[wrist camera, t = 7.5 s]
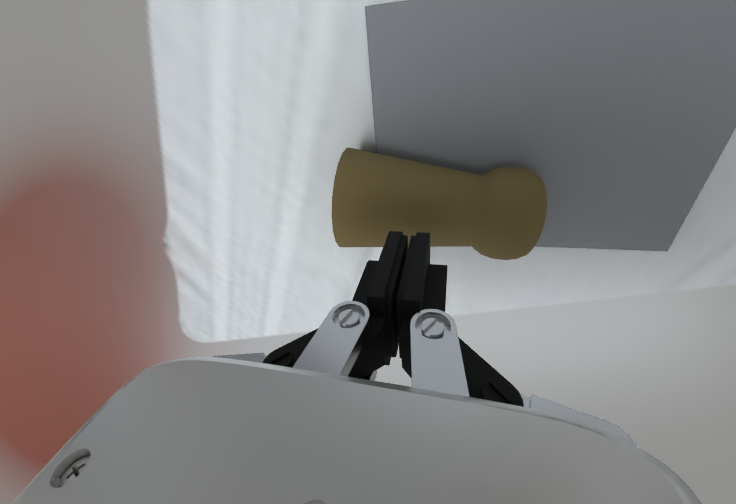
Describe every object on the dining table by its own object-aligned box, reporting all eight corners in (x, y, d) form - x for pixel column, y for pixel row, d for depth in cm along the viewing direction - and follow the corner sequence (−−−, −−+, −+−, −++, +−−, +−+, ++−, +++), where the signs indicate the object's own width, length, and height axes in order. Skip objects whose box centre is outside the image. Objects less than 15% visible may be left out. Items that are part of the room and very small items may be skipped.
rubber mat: (828, -59, 12) (839, -61, 11) (663, 247, 20) (667, 251, 19) (366, 7, 16) (364, 6, 15) (384, 237, 24) (383, 240, 23)
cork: (360, 208, 23) (515, 224, 21) (338, 267, 19) (528, 293, 17) (355, 129, 19) (548, 140, 17) (325, 182, 15) (576, 205, 13)
